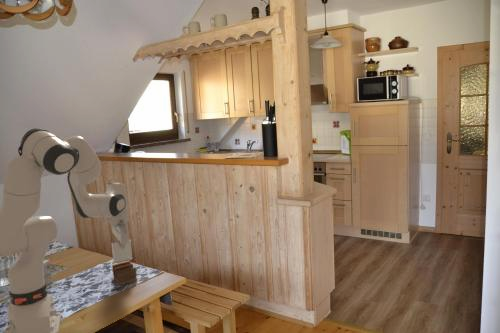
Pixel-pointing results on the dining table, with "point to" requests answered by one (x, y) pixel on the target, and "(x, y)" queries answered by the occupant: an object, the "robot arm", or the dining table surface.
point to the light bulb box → (47, 272)
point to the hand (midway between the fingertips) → (121, 247)
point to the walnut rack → (124, 272)
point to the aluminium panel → (121, 252)
